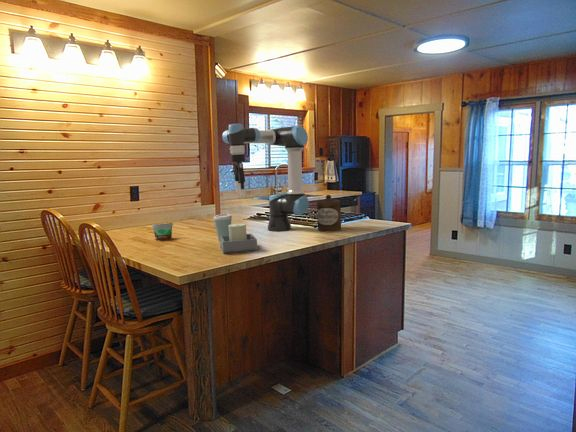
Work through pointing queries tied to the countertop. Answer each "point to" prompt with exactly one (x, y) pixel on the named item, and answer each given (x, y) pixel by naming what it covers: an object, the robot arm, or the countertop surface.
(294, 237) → the countertop surface
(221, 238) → the tub
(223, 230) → the disposable coffee cup
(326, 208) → the wooden container
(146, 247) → the countertop surface
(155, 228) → the food container
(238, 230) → the can
